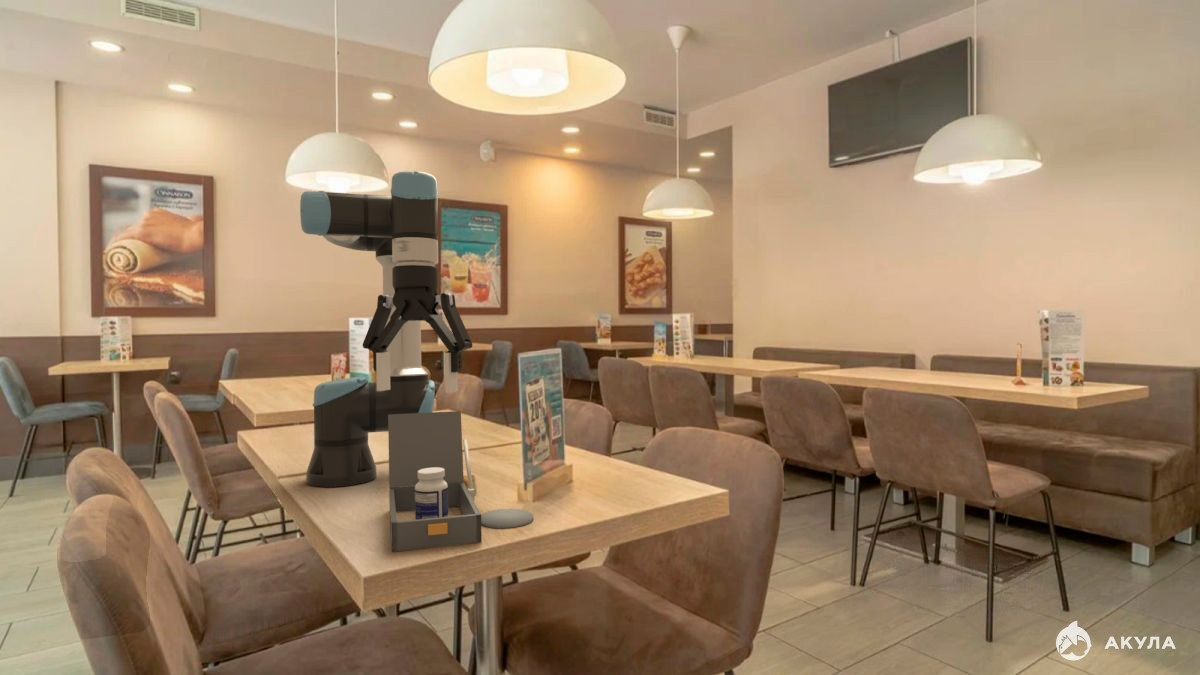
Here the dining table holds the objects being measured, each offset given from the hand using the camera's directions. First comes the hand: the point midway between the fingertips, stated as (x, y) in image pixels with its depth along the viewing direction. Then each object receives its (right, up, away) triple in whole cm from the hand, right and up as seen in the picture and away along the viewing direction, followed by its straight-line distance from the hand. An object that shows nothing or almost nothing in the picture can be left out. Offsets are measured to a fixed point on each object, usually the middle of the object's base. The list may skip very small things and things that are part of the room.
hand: (416, 391), depth 112 cm
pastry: (+1, -24, +29) cm, 37 cm away
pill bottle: (+1, -25, +6) cm, 25 cm away
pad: (+14, -24, +9) cm, 29 cm away
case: (+1, -24, +7) cm, 25 cm away
